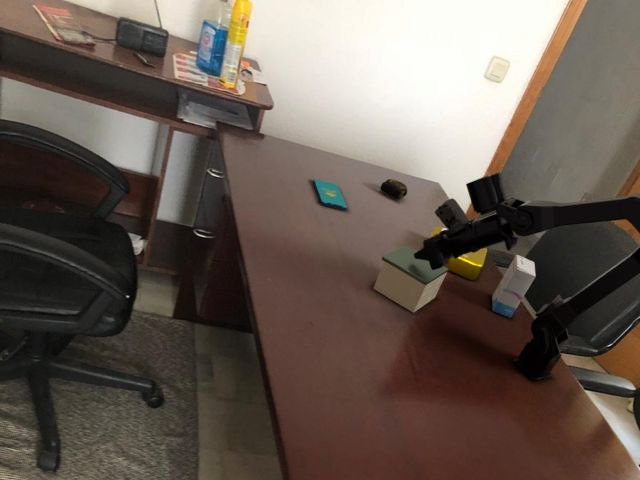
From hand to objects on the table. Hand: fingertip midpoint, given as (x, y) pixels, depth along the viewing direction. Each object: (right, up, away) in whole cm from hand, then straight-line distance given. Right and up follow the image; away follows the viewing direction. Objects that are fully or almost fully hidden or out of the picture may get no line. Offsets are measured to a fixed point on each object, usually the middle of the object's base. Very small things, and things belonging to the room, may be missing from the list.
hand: (414, 256), depth 142 cm
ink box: (+23, -8, +16) cm, 29 cm away
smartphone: (-18, +25, +34) cm, 46 cm away
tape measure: (0, +30, +49) cm, 57 cm away
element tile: (+13, +6, +28) cm, 31 cm away
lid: (0, -2, +1) cm, 2 cm away
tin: (-2, -7, +5) cm, 9 cm away
